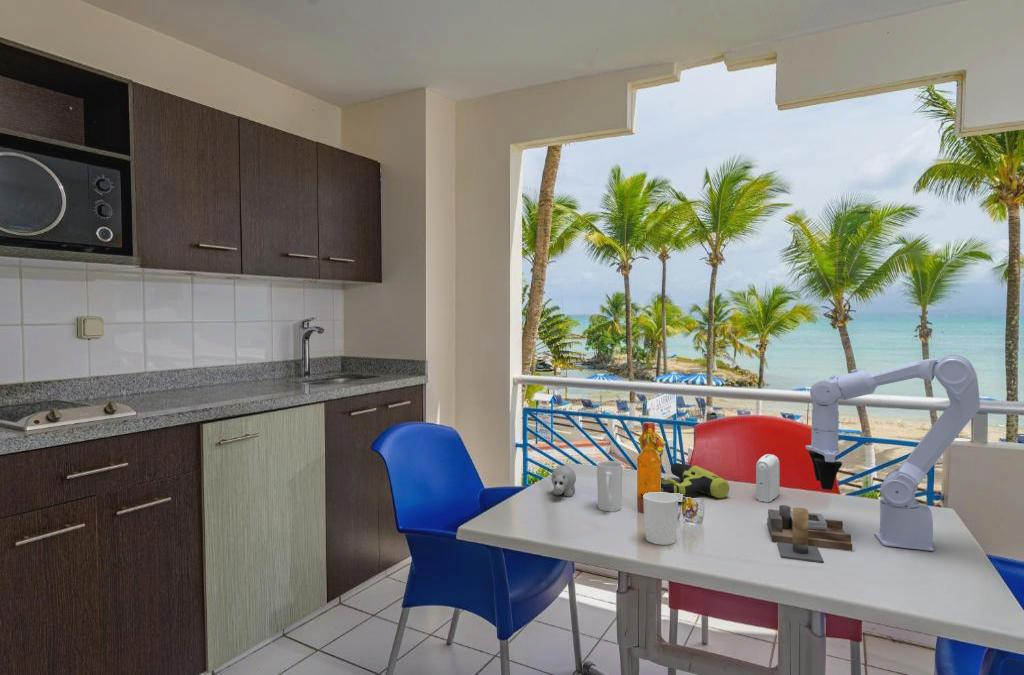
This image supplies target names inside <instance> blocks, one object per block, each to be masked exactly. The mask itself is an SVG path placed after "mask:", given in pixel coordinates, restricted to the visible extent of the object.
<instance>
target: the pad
mask: <svg viewBox="0 0 1024 675" xmlns="http://www.w3.org/2000/svg"><path fill="white" fill-rule="evenodd" d="M776 545H777V548H778V552H779V556H780V558H781V559H788V560H796V561H797V560H799V561H806V562H813V563H821V564H824V559H823V556H822V554H821V552H820V549H819V547H816V546H808V553H807V554H799V553H796V552H794V551H793V544H790V543H781V542H776Z"/></svg>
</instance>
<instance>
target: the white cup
mask: <svg viewBox="0 0 1024 675" xmlns="http://www.w3.org/2000/svg"><path fill="white" fill-rule="evenodd" d="M642 502H643V503H642V504H643V520H644V531H645V532H644V533H645V539H646V541H647V542H649V543H650V544H654V545H660V546H669V545H672V544H674V543H676V541H677V529H678V516H679V515H678V514H679V503H678V497H677V496H676V495H674V494H671V493H666V492H648V493H645V494H644V495H643V496H642Z"/></svg>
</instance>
